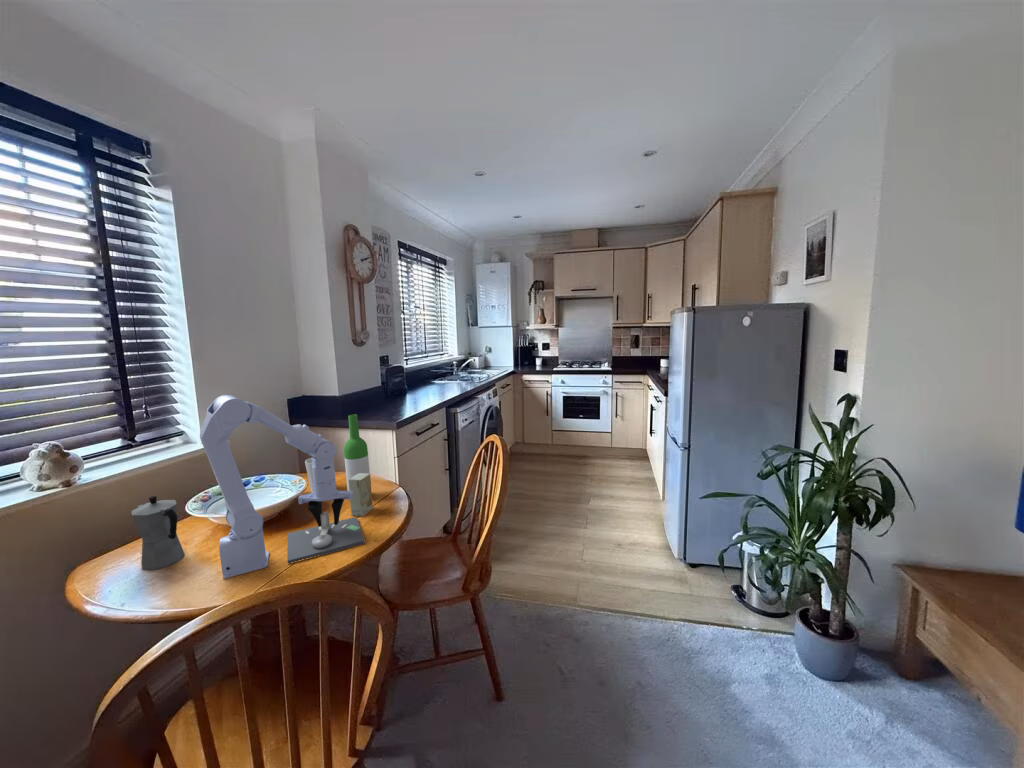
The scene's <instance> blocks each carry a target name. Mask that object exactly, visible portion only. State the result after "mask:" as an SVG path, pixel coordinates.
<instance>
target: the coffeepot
mask: <svg viewBox="0 0 1024 768" xmlns="http://www.w3.org/2000/svg"><path fill="white" fill-rule="evenodd" d="M148 500H149V502H145V503H142V504H140V505H137V508H134V509H132V510H131V516H132V517H131V518H132V520H133V522H134V523H135V524H134V525H135V526H136V529H137V531H138V534H139V536H140V538H141V540H142V542H141V559H140V560H141V563H140V565H141V570H145V571H154V570H159V569H162V568H166V567H169V566H171V565H174V564H175V563H178V562H179V561H181V559H182V558H183V557H184V556H185V552H184V548H183V547H182V544H181V542H180V539H179V536H178V533H177V530H178V529H177V528H178V527H177V526H178V514H177V508H178V507H177V506H178V505H177V501H176V499H162V500H157V495H151V496H150V497H148Z"/></svg>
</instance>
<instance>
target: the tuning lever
mask: <svg viewBox="0 0 1024 768" xmlns="http://www.w3.org/2000/svg"><path fill="white" fill-rule="evenodd" d="M320 519H321V528H322V530H321V534H320V536H317V537H315V538H314V539H313V540H312V546H313V547H314V548H323V547H326V546H328V545H330V544H331V543H332V536H331V535H328V534H327V533H328V529H329V526H330V525H329V523H330V518H329V512H328V511H323V512H322V513H321V514H320Z"/></svg>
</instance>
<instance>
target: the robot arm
mask: <svg viewBox="0 0 1024 768" xmlns="http://www.w3.org/2000/svg"><path fill="white" fill-rule="evenodd" d="M203 421H204V422H203V423H202V427H201V430H200V433H199V439H200V442H201V444H202V446H203V449H204V452H205V454H206V457H207V459H208V462H209V465H210V467H211V469H212V472H213V475H214V477H215V479H216V482H217V484H218V485H217V486H219V489H220V492H221V494H222V497H223V499H224V506H225V508H226V513H225V521H226V522H227V524H228V525H229V526H230V530H229V533H228V535H225V536H222V537H220V539H219V543H218V545H219V547H218V549H219V557H220V559H219V560H220V566H221V571H222V572H221V573H222V579H228V578H232V577H234V576H240V575H243V574H246V573H251V572H254V571H258V570H262V569H265V568H268V566H269V558H270V557H269V556H270V551H268V550H266V545H265V544H266V543H265V537H264V536H265V535H264V528H263V526H264V525H263V524H264V518H263V516H262V514H261V513H259V512H258V511H256V509H255V507H254V504H253V503H252V501H251V499H250V497H249V495H248V492H247V490H246V488H245V485H244V482H243V479H242V477H241V474H240V471H239V469H238V465H237V463H236V460H235V458H234V455H233V454H232V450H231V447H230V445H229V442H228V438H229V437H230V436H231V434H232V433H233V432H234V430H235V429H237V428H238V427H240V426H241V425H242V424H244V423H245V422H247V423H248V424H253V423H260V424H262V425H264V426H266V427H268V428H270V429H271V430H274V431H275V432H277V433H279V434H280V435H283V436H284V440H285V443H286V444H288V445H290V446H292V447H294V448H295V449H298V450H299V451H301V452H303V453H305V454H308V456H311V458H312V470H313V480H314V490H315V493H311V492H310V493H307V494H299V496H298V497H297V499H298V501H297V502H298V504H299V505H303V504H304V503H305V504H307V503H308V505H307V510H308V511H310V513H311V514H312V515H313V517H314V519H315V522H316V524H317V526H318V527H319V526H321V519H320V514H321V513H322V511H323V508H322V507H323V506H322V503H323V502H330V501H333V502H332V503H331V508H332V513H333V522H334V524H335V525H337V524H338V522H339V521H340V516H341V515H340V514H341V510H342V507H343V504H344V502H345V500H348V501H350V500H352V499H353V491H348V490H337V484H336V483H337V482H336V471H335V470H336V469H335V462H334V459H335V458H334V457H335V456H336V454H337V451H338V449H337V448H336V447H335V445H334V443H333V442H331V440H328V439H325V438H324V436H323V435H322V434H321V433H315V431H312V430H310V427H309V426H308V425H306V424H303V425H302V424H300V423H299V424H298V423H297V424H293V425H291V424H290V423H288V422H286V421H285V420H283V419H282V418H280V417H278V416H277V415H275V414H273V413H272V412H270V411H268V410H267V409H265V408H263V407H261V406H260V405H257V404H254V403H251V402H249V401H246V400H244V399H241V398H238V397H237V396H235V395H231V394H223V395H222V394H221V395H220V396H218V397H216V398H215V400H214V399H213V402H212V403H211V404H210V405H209V406H208V407H207V409H206V415H205V417H204V420H203ZM313 457H314V458H313Z"/></svg>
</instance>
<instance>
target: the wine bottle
mask: <svg viewBox="0 0 1024 768" xmlns="http://www.w3.org/2000/svg"><path fill="white" fill-rule="evenodd" d="M358 419H359V418H358V414H356V413H355V414H354V413H353V414H349V415H348V419H347V420H348V427H349V429H348V430H349V431H348V432H349V439H347V441H346V442H345V443H344V446H343V456H344V466H345V478H346V486H347V487H346V489H347V490H346V491H349V479H350V478H352V477H353V476H355V475H357V474H358V473H367V474H370V475H371V472H370V463H369V462H370V461H369V452H368V451H369V450H368V444H367V442H366V441H365V439H363V438H362V437H360V430H359V429H360V428H359V420H358Z"/></svg>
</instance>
